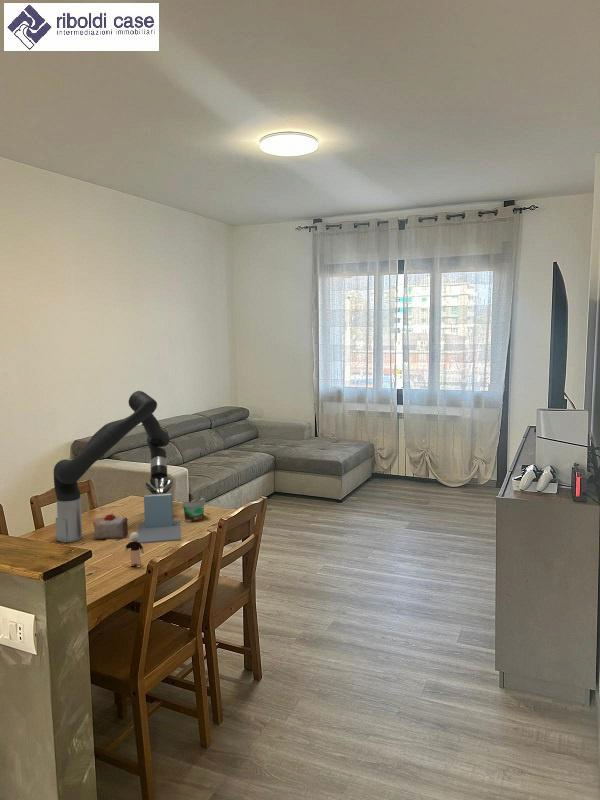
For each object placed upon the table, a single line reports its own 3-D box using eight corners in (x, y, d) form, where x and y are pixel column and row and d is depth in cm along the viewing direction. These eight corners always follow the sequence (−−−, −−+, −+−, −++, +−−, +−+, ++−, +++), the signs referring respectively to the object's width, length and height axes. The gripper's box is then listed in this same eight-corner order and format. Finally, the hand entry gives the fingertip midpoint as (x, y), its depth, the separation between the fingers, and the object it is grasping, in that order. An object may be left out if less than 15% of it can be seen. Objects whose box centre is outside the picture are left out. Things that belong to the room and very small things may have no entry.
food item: (91, 540, 244) (90, 517, 243) (98, 534, 252) (97, 512, 251) (124, 540, 244) (123, 517, 243) (130, 534, 252) (129, 511, 251)
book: (145, 525, 261) (144, 494, 260) (173, 523, 264) (172, 492, 262) (145, 527, 258) (143, 496, 257) (173, 525, 261) (172, 494, 259)
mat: (181, 540, 243) (180, 538, 243) (135, 543, 240) (135, 542, 240) (180, 521, 269) (180, 520, 269) (139, 524, 265) (139, 523, 265)
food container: (192, 525, 262) (192, 504, 261) (182, 523, 266) (182, 501, 265) (211, 518, 272) (211, 497, 271) (201, 516, 276) (201, 495, 275)
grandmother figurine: (147, 563, 218) (146, 530, 217) (144, 567, 215) (142, 534, 213) (126, 563, 219) (125, 530, 217) (123, 567, 215) (121, 533, 214)
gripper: (173, 472, 281) (175, 504, 270) (144, 474, 278) (145, 506, 267) (173, 463, 275) (174, 495, 264) (143, 465, 272) (144, 497, 262)
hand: (159, 501), depth 266 cm, fingers closed
